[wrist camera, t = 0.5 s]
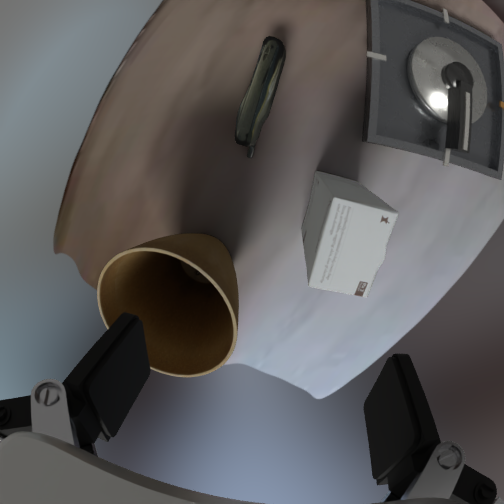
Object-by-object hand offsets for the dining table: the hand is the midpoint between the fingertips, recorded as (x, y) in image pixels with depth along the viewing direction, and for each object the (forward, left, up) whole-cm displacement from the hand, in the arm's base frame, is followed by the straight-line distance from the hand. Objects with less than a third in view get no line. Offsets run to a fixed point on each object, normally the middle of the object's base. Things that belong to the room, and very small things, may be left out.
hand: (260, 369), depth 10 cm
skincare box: (0, +6, -28) cm, 29 cm away
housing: (-20, +20, -28) cm, 40 cm away
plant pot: (+9, -10, -28) cm, 31 cm away
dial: (-18, +20, -27) cm, 38 cm away
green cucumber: (-13, -4, -28) cm, 32 cm away
